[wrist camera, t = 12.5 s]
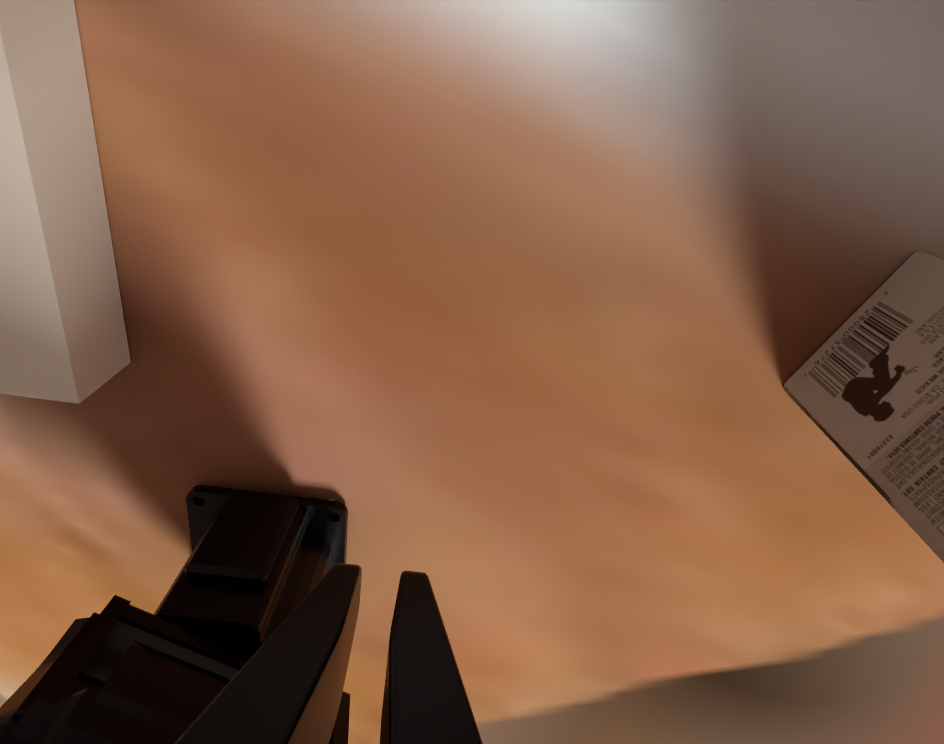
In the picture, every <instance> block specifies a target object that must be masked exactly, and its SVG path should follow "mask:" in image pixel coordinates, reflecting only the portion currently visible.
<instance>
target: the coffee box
mask: <svg viewBox="0 0 944 744" xmlns="http://www.w3.org/2000/svg"><path fill="white" fill-rule="evenodd" d="M784 390H785V392H786V393H787V394H788V395H789V396H790V397H791V399H792V400H793V401H794V402H795V403H796V404H797V405H798V406H799V407H800V408H801V409H802V410H803V411H804V412H805V413H806V414H807V415H808V416H809V418H810V419H811V420H812V421H813V422H814V423H815V424H816V425H817V426H818V427H819V428H820V429H821V430H822V431H823V432H824V433H825V435H826V436H827V437H828V438H829V439H830V440H831V441H832V442H833V443H834V444H835V445H836V446H837V447H838V449H839V450H840V451H841V452H842V453H843V454H844V455H845V456H846V457H847V458H848V459H849V460H850V462H851V463H852V464H853V465H854V466H855V467H856V468H857V469H858V470H859V471H860V472H861V474H862V475H863V476H864V477H865V478H866V479H867V480H868V481H869V482H870V483H871V484H872V485H873V486H874V487H875V489H876V490H877V491H878V492H879V493H880V494H881V495H882V496H883V497H884V498H885V499H886V500H887V502H888V503H889V504H890V505H891V506H892V507H893V508H894V509H895V510H896V511H897V513H898V514H899V515H900V516H901V517H902V518H903V519H904V520H905V521H906V522H907V524H908V525H909V526H910V527H911V528H912V529H913V530H914V531H915V532H916V533H917V534H918V535H919V536H920V538H921V539H922V540H923V541H924V542H925V543H926V544H927V545H928V546H929V547H930V548H931V549H932V550H933V552H934V553H935V554H936V555H937V556H938V557H939V558H940V559H941V560H942V561H943V562H944V260H943V259H941V258H938V257H936V256H933V255H930V254H928V253H925V252H923V251H918V252H916V253H914V254H912V255H911V256H910V257H909V258H908V259H907V260H906V261H905V262H904V263H903V264H902V266H901V267H900V268H899V269H898V270H897V271H896V272H895V273H894V274H893V275H892V276H891V277H890V278H889V279H888V280H887V281H886V282H885V283H884V284H883V285H882V286H881V287H880V288H879V289H878V290H877V291H876V292H875V293H874V294H873V295H872V296H871V297H870V298H869V299H868V300H867V301H866V302H865V303H864V304H863V305H862V306H861V307H860V308H859V309H858V310H857V311H856V312H855V313H854V314H853V315H852V316H851V317H850V318H849V319H848V320H847V321H846V322H845V323H844V324H843V325H842V326H841V327H840V328H839V329H838V330H837V331H836V332H835V333H834V334H833V335H832V336H831V337H830V338H829V339H828V340H827V341H826V342H825V343H824V344H823V345H822V346H821V347H820V348H819V349H818V350H817V351H816V352H815V353H814V354H813V355H812V356H811V357H810V358H809V359H808V360H807V361H806V362H805V363H804V364H803V365H802V366H801V367H800V368H799V369H798V370H797V371H796V372H795V373H794V374H793V375H792V376H791V377H790V378H789V379H788V380H787V381H786V383H785V384H784Z"/></svg>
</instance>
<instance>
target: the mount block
mask: <svg viewBox="0 0 944 744" xmlns="http://www.w3.org/2000/svg"><path fill="white" fill-rule="evenodd" d="M129 363H131V360H130V354H129V348H128V341H127V335H126V329H125V322H124V316H123V310H122V303H121V297H120V291H119V284H118V278H117V272H116V265H115V259H114V253H113V246H112V240H111V234H110V227H109V221H108V214H107V208H106V202H105V195H104V189H103V183H102V176H101V170H100V164H99V157H98V151H97V145H96V138H95V132H94V126H93V119H92V113H91V107H90V100H89V94H88V88H87V81H86V75H85V69H84V62H83V56H82V50H81V43H80V37H79V30H78V24H77V18H76V11H75V5H74V0H0V394H5V395H13V396H21V397H29V398H37V399H45V400H54V401H62V402H70V403H78V404H80V403H81V402H82V401H83V400H85V399H86V398H87V397H88V396H90V395H91V394H92V393H93V392H95V391H96V390H97V389H98V388H100V387H101V386H102V385H103V384H104V383H106V382H107V381H108V380H109V379H111V378H112V377H113V376H114V375H116V374H117V373H118V372H119V371H121V370H122V369H123V368H124V367H126V366H127V365H128V364H129Z"/></svg>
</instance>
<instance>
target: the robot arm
mask: <svg viewBox="0 0 944 744" xmlns="http://www.w3.org/2000/svg"><path fill="white" fill-rule="evenodd" d="M198 496H199V497H201V498H203V499H204V500H202V499H200V498H199V497H198ZM186 503H187V511H188V519H189V527H190V536H191V544H192V554H191V555H190V557H189V558H188V560H187V562H186V563H185V565H184V566H183V568H182V570H181V571H180V573H179V575H178V576H177V578H176V579H175V581H174V583H173V584H172V586H171V587H170V589H169V591H168V592H167V594H166V596H165V597H164V599H163V600H162V602H161V604H160V605H159V607H158V608H157V610H156V612H155V613H154V615H153V614H151V613H149V612H146V611H144V610H141V609H139V608H137V607H134V606H132V605H130V602H131V601H128V600H126V599H123V598H121V597H119V596H116V595H115V596H114V597H113V598H112V599H111V601H110V602H109V603H108V605H107V606H106V607H105V608H104V610H103V611H102V612H101V614H97V613H95V612H94V613H93V614H92V616H91V617H90V618H82V619H76V620H75V621H74V622H73V624H72V625H71V626H70V628H69V629H68V630H67V631H66V633H65V634H64V635H63V637H62V638H61V639H60V641H59V642H58V643H57V645H56V646H55V647H54V649H53V650H52V651H51V653H50V654H49V655H48V656H47V658H46V659H45V660H44V661H43V663H42V664H41V665H40V666H39V667H38V668H37V669H36V671H35V672H34V673H33V674H32V675H31V676H30V677H29V678H28V679H27V680H26V681H25V682H24V683H23V684H22V685H21V686H20V687H19V689H18V690H17V691H16V692H15V693H14V694H13V695H12V696H11V697H10V698H9V699H8V700H7V701H6V702H5V703H4V704H3V705H2V706H1V708H0V744H348V729H349V707H350V694H348V693H346V692H343V687H344V682H345V677H346V672H347V667H348V662H349V657H350V652H351V647H352V642H353V637H354V632H355V626H356V621H357V616H358V611H359V603H360V589H361V572H362V571H361V567H360V566H358V565H353V564H346V545H347V523H348V510H347V508H346V506H345V505H344V504H342V503H340V502H337V501H329V500H320V499H312V498H304V497H295V496H287V495H278V494H270V493H262V492H253V491H245V490H236V489H228V488H220V487H211V486H203V485H199V486H195V487H193V488H192V489H191V491H190V492H189V494H188V495H187V497H186ZM333 512H334V513H337V514H338V515H333V514H332V513H333ZM380 744H483V743H482V740H481V737H480V734H479V731H478V728H477V725H476V722H475V719H474V716H473V713H472V709H471V706H470V703H469V700H468V697H467V694H466V691H465V688H464V685H463V682H462V679H461V676H460V673H459V670H458V667H457V664H456V661H455V657H454V654H453V651H452V648H451V645H450V642H449V639H448V636H447V633H446V630H445V627H444V624H443V621H442V618H441V615H440V612H439V608H438V605H437V602H436V599H435V596H434V593H433V590H432V587H431V584H430V581H429V578H428V576H427V575H426V574H425V573H422V572H413V571H404V572H402V574H401V577H400V582H399V588H398V593H397V599H396V604H395V609H394V615H393V620H392V626H391V632H390V640H389V650H388V659H387V669H386V679H385V689H384V698H383V708H382V719H381V733H380Z"/></svg>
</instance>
